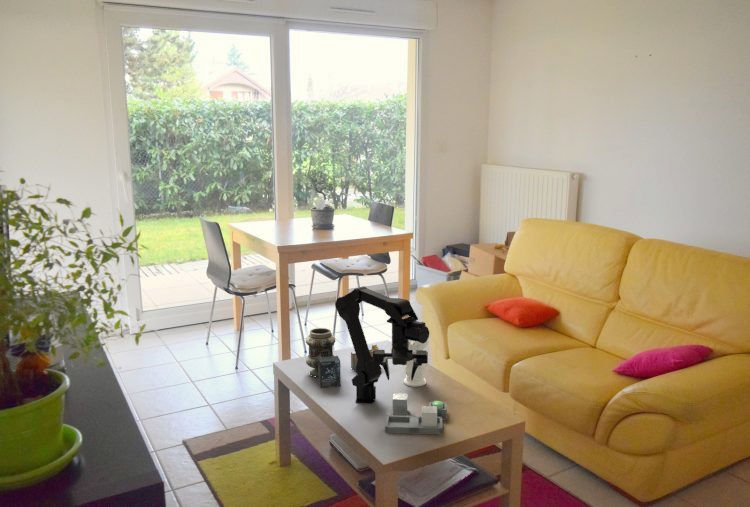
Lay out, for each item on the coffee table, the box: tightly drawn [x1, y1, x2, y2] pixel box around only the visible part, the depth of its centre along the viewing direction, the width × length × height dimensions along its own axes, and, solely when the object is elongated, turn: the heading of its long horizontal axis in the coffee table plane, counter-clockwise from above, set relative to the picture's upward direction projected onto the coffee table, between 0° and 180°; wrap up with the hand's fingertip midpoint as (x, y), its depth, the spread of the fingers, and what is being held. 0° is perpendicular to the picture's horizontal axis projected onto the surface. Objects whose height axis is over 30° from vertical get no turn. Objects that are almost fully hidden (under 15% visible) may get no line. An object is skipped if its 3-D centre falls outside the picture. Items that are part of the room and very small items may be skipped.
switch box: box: [428, 401, 448, 420], centre depth 225 cm, size 6×6×4 cm
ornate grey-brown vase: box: [305, 327, 336, 377], centre depth 262 cm, size 12×12×18 cm
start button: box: [432, 400, 443, 409], centre depth 225 cm, size 4×4×4 cm
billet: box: [392, 393, 409, 416], centre depth 228 cm, size 5×5×6 cm
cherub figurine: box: [403, 338, 430, 388], centre depth 251 cm, size 12×12×22 cm
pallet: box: [384, 405, 444, 435], centre depth 216 cm, size 19×9×6 cm, turn 86°
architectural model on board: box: [350, 343, 379, 371], centre depth 269 cm, size 11×3×10 cm, turn 108°
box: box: [318, 355, 341, 388], centre depth 252 cm, size 8×6×11 cm
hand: (400, 380), depth 226 cm, fingers open, 8 cm apart
